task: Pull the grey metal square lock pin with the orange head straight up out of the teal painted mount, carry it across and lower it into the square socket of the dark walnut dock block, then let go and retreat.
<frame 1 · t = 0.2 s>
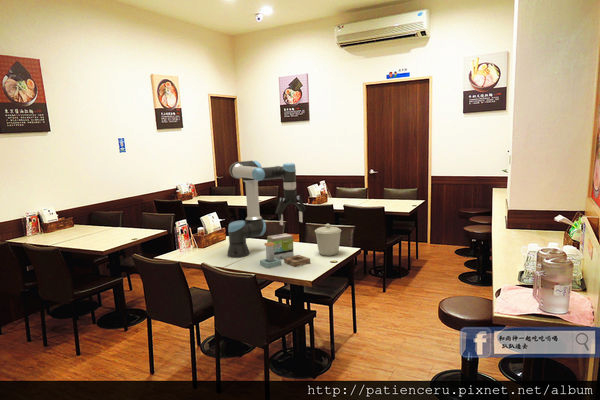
hand: (291, 223, 245), 27 cm above the table, fingers open, 13 cm apart
dock: (297, 262, 256), on the table
mount: (270, 265, 254), on the table
tea box: (280, 257, 272), on the table
lock pin: (270, 254, 253), in the mount
canister: (328, 254, 274), on the table
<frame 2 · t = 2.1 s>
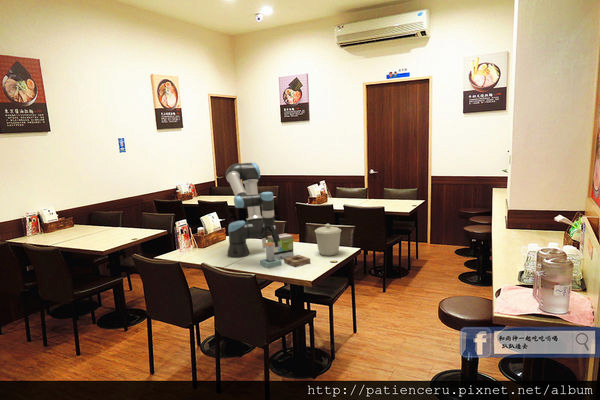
hand: (270, 250, 252), 10 cm above the table, fingers open, 13 cm apart
nothing on the table moved.
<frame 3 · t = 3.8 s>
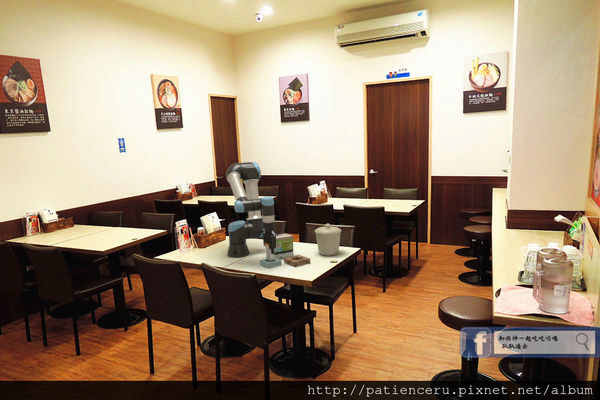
hand: (270, 258, 253), 5 cm above the table, fingers closed on lock pin, 4 cm apart
lock pin: (270, 254, 253), in the mount, touching gripper
everything else where it was.
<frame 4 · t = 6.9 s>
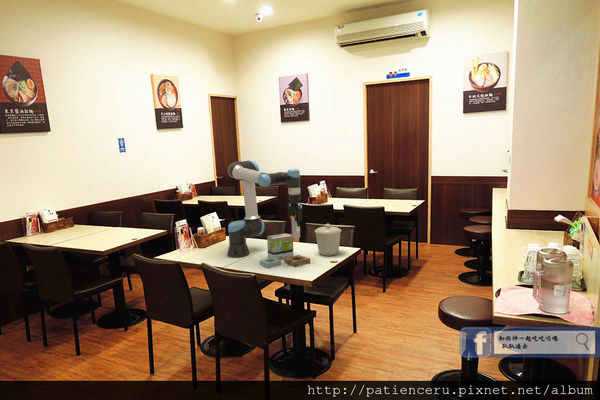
hand: (295, 230, 253), 21 cm above the table, fingers closed on lock pin, 4 cm apart
lock pin: (295, 226, 253), point 24 cm above the table, touching gripper
everything else where it was.
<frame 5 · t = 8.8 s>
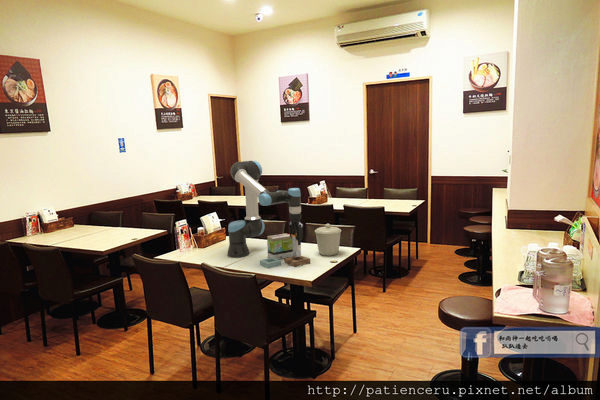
hand: (296, 249, 255), 9 cm above the table, fingers closed on lock pin, 4 cm apart
lock pin: (296, 245, 254), point 12 cm above the table, touching gripper
everything else where it was.
when the fingers open (6 cm above the table, at t = 10.1 s): lock pin drops 1 cm, resting in dock.
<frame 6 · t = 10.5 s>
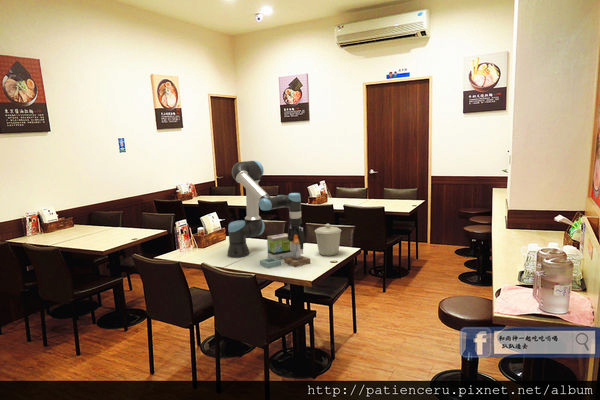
hand: (296, 252, 255), 7 cm above the table, fingers open, 9 cm apart
lock pin: (296, 252, 255), in the dock
everything else where it was.
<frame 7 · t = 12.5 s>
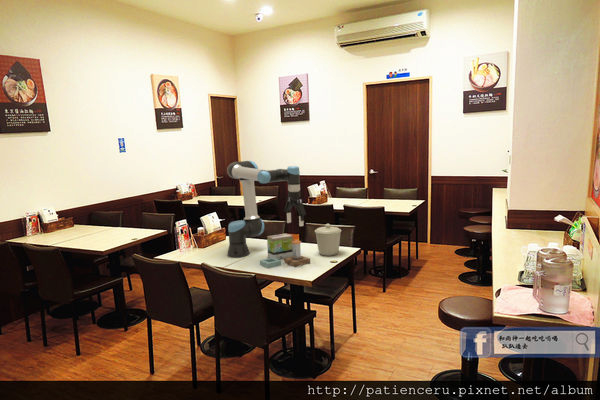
hand: (295, 224, 254), 25 cm above the table, fingers open, 13 cm apart
nothing on the table moved.
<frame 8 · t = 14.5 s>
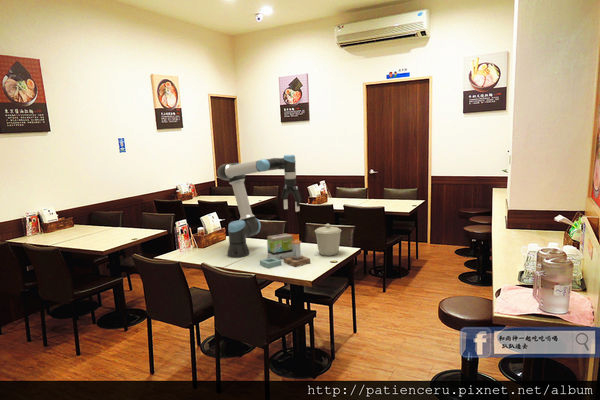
hand: (291, 210, 267), 32 cm above the table, fingers open, 13 cm apart
nothing on the table moved.
at the end: lock pin 0.1 cm off-centre on the dock, point 7.1 cm above the dock's base; lock pin tilted 0°; the gripper is holding nothing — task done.
